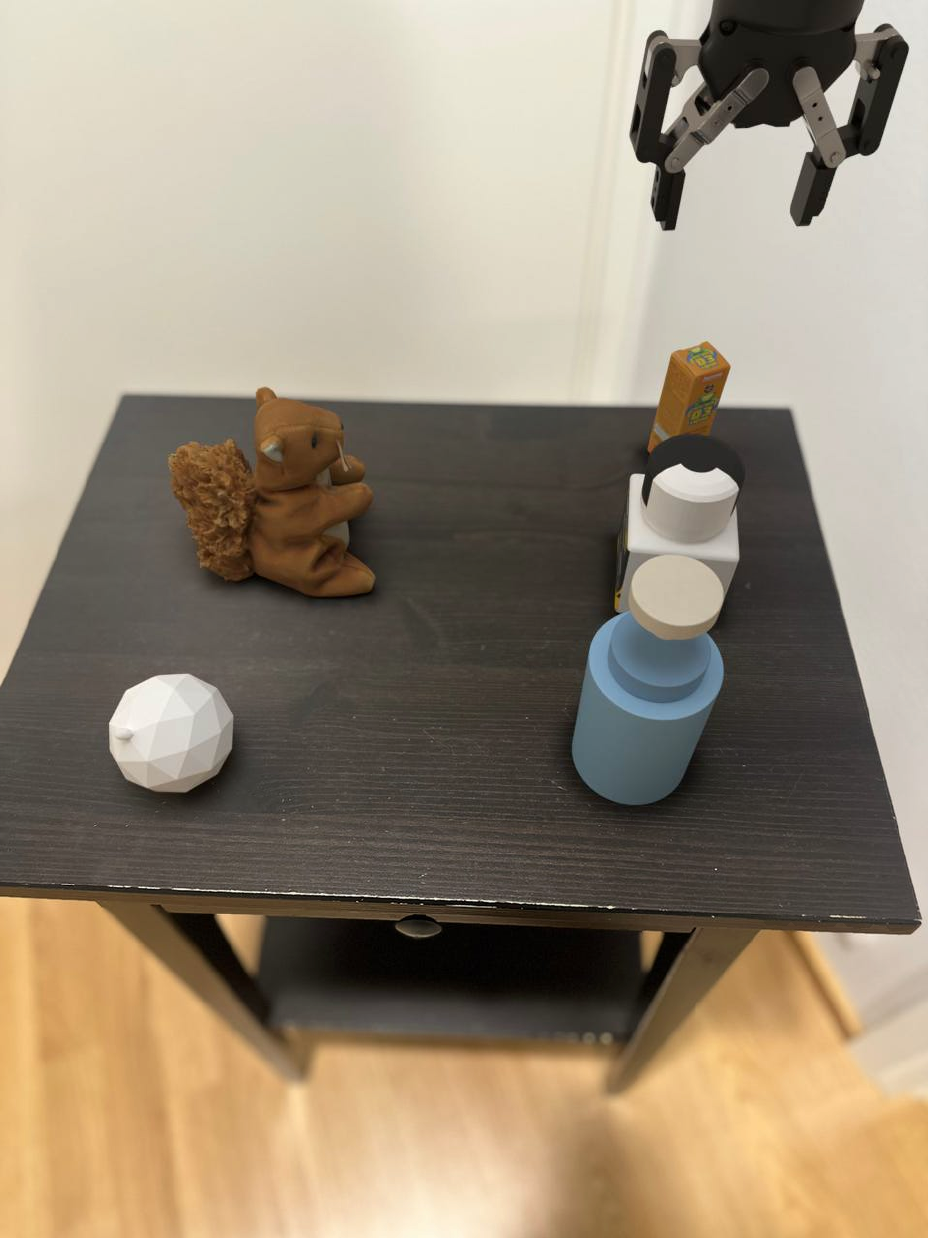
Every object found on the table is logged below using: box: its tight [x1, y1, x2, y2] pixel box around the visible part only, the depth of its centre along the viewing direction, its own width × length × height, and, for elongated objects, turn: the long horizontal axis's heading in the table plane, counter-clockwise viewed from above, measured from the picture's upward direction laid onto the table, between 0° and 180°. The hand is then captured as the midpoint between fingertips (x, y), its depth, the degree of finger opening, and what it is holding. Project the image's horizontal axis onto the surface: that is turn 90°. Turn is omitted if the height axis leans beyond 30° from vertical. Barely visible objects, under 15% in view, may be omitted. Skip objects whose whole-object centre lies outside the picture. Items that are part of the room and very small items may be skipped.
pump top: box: [628, 555, 725, 640], centre depth 43 cm, size 4×4×3 cm
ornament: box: [108, 673, 234, 793], centre depth 52 cm, size 7×7×8 cm
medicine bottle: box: [614, 434, 746, 614], centre depth 58 cm, size 7×7×12 cm
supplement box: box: [647, 341, 732, 454], centre depth 67 cm, size 3×3×10 cm
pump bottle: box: [571, 611, 725, 806], centre depth 50 cm, size 7×7×12 cm
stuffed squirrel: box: [167, 386, 376, 598], centre depth 60 cm, size 10×14×13 cm
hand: (732, 222), depth 55 cm, fingers open, 8 cm apart
